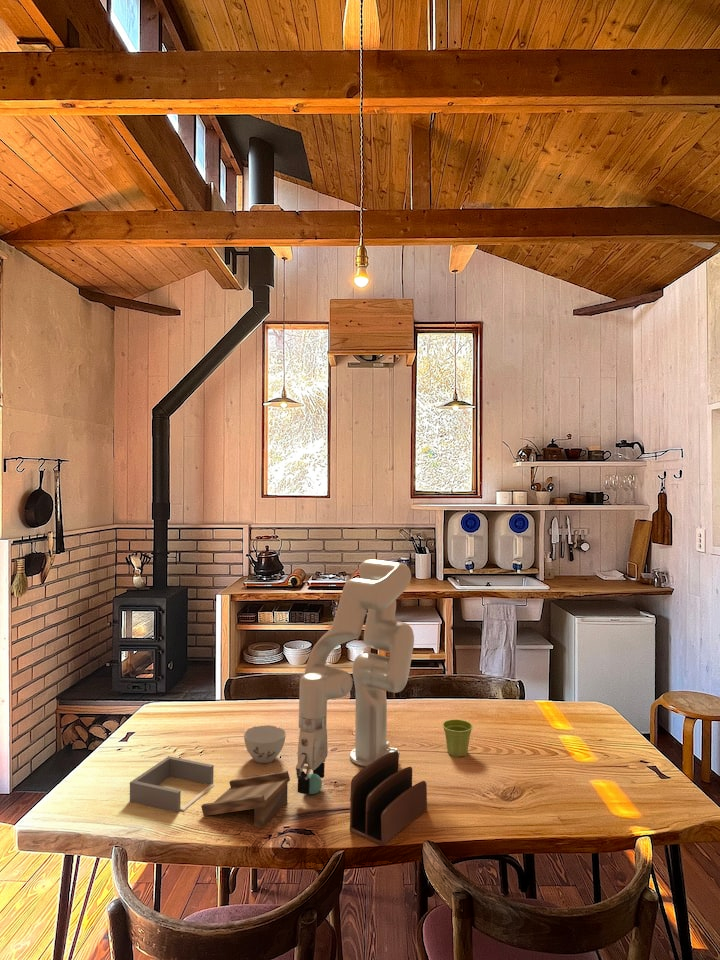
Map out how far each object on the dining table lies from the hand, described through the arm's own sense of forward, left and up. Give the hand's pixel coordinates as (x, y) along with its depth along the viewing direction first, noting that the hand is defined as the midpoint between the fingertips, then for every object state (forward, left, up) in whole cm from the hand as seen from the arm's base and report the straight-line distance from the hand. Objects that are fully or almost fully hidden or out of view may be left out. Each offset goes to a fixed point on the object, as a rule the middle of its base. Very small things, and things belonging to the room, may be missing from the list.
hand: (311, 784), depth 164 cm
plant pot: (-32, -39, -3) cm, 50 cm away
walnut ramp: (+12, +12, -2) cm, 18 cm away
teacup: (+22, -15, -3) cm, 26 cm away
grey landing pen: (+35, +12, -2) cm, 37 cm away
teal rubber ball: (0, -1, -2) cm, 2 cm away
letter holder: (-24, +5, -3) cm, 24 cm away
